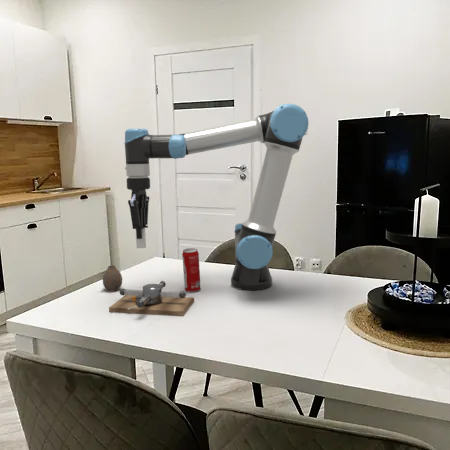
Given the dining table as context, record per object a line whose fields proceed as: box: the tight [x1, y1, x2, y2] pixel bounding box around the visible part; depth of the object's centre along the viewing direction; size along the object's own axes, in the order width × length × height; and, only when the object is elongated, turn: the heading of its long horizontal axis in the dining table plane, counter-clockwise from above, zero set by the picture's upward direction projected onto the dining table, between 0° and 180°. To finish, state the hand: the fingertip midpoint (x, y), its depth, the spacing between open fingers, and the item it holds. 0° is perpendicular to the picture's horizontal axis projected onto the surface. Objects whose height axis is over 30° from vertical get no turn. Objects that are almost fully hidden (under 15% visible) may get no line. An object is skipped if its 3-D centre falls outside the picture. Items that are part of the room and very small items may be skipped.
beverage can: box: [181, 247, 202, 293], centre depth 161 cm, size 6×6×15 cm
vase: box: [102, 264, 123, 292], centre depth 164 cm, size 7×7×9 cm
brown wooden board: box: [108, 295, 195, 317], centre depth 145 cm, size 24×14×2 cm, turn 79°
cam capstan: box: [119, 280, 187, 308], centre depth 145 cm, size 22×22×5 cm
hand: (141, 247), depth 152 cm, fingers closed
